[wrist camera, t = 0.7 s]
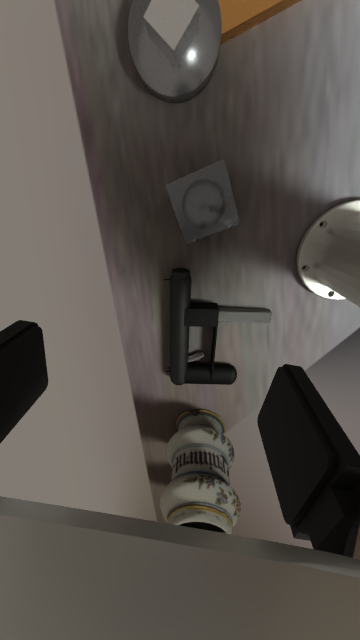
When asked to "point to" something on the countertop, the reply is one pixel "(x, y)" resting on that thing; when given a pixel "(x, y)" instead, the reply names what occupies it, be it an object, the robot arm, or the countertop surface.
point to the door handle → (200, 315)
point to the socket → (203, 202)
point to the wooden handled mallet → (188, 39)
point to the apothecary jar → (200, 475)
